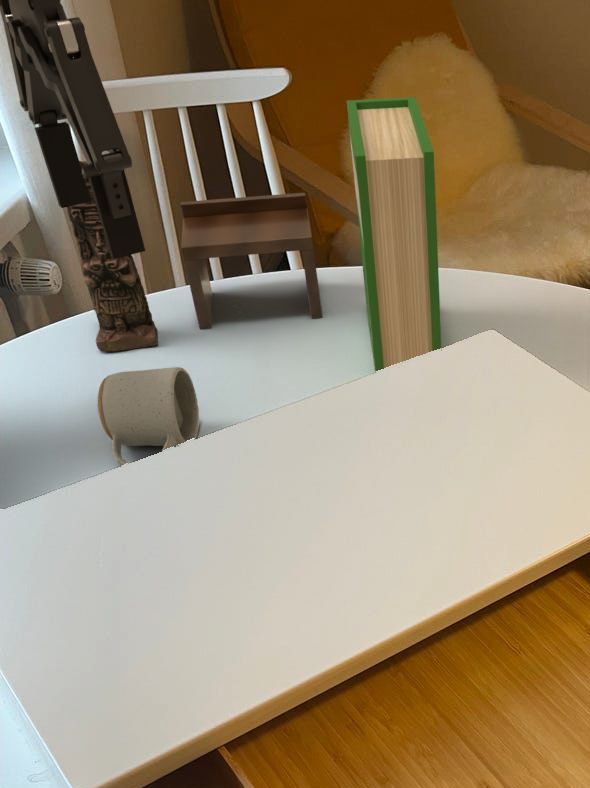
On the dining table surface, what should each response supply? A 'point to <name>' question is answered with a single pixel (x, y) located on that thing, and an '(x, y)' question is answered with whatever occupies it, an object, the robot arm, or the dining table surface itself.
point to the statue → (111, 284)
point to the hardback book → (396, 227)
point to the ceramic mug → (148, 408)
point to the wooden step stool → (245, 240)
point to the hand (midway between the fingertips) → (100, 227)
